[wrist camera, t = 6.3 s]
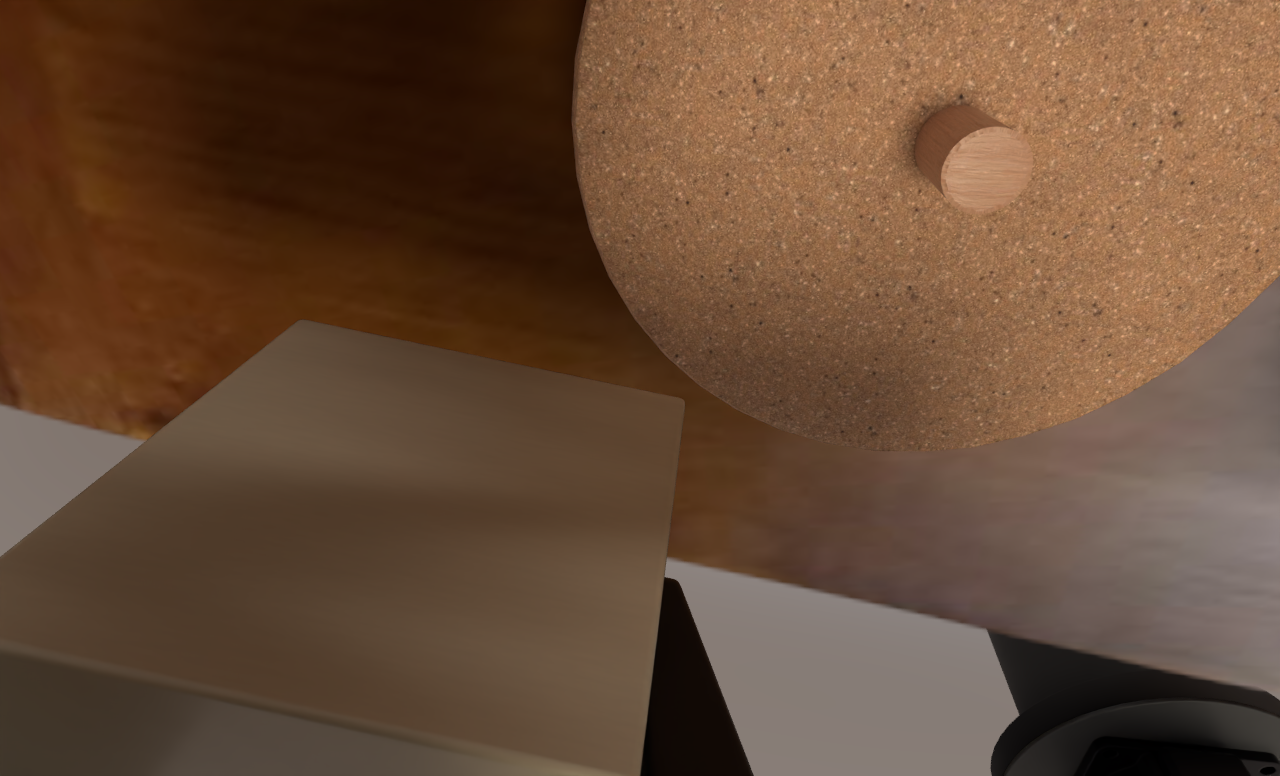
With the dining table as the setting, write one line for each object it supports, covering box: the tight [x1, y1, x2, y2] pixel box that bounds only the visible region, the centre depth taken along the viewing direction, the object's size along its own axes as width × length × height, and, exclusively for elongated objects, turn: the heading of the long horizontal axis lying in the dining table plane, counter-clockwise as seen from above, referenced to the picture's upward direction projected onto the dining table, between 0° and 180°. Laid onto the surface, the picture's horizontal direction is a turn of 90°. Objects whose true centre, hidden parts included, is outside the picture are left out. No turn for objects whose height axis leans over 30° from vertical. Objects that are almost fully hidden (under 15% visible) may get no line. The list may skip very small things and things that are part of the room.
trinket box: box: [572, 0, 1280, 451], centre depth 12 cm, size 11×11×9 cm
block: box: [0, 320, 685, 776], centre depth 8 cm, size 5×5×5 cm
